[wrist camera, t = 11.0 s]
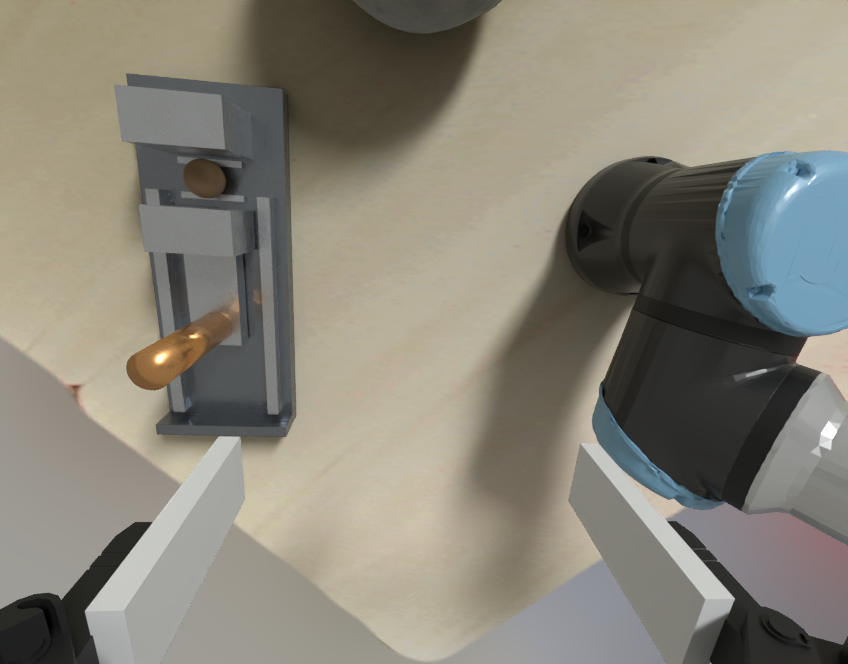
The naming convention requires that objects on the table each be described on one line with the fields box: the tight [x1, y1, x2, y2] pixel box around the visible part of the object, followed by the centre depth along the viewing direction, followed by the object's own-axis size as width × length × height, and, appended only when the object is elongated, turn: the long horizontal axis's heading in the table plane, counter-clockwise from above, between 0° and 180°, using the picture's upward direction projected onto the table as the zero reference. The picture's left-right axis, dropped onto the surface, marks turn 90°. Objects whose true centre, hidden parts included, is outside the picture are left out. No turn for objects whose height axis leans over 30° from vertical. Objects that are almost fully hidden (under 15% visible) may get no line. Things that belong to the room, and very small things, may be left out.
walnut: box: [183, 158, 226, 199], centre depth 38 cm, size 4×4×4 cm
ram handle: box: [126, 204, 255, 390], centre depth 35 cm, size 14×8×14 cm, turn 176°
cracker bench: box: [114, 73, 296, 437], centre depth 40 cm, size 36×14×9 cm, turn 176°
